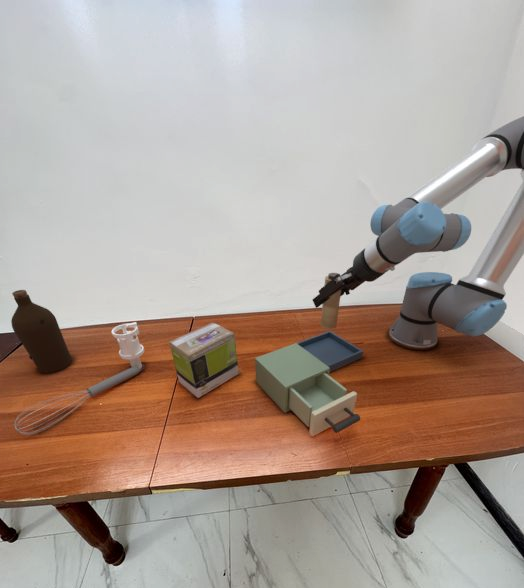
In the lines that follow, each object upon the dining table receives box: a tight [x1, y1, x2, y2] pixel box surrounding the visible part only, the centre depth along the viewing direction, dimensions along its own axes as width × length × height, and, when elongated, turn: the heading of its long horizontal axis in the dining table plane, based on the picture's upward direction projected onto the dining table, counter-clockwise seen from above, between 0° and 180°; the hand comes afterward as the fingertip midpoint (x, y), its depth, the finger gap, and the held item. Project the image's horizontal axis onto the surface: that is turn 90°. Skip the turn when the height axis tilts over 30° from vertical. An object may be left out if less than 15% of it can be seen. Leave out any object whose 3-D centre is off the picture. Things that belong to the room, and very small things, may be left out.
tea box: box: [168, 321, 240, 399], centre depth 83 cm, size 15×10×15 cm, turn 134°
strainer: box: [111, 321, 145, 370], centre depth 89 cm, size 7×7×15 cm
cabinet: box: [254, 342, 331, 413], centre depth 81 cm, size 15×14×9 cm
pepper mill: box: [320, 272, 342, 330], centre depth 86 cm, size 5×5×16 cm
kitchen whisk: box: [14, 365, 145, 436], centre depth 79 cm, size 6×34×6 cm, turn 143°
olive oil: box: [10, 289, 73, 374], centre depth 88 cm, size 11×11×25 cm
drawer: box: [288, 373, 361, 437], centre depth 72 cm, size 18×13×7 cm
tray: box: [296, 330, 364, 373], centre depth 96 cm, size 18×16×3 cm
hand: (322, 301), depth 89 cm, fingers closed on pepper mill, 5 cm apart
